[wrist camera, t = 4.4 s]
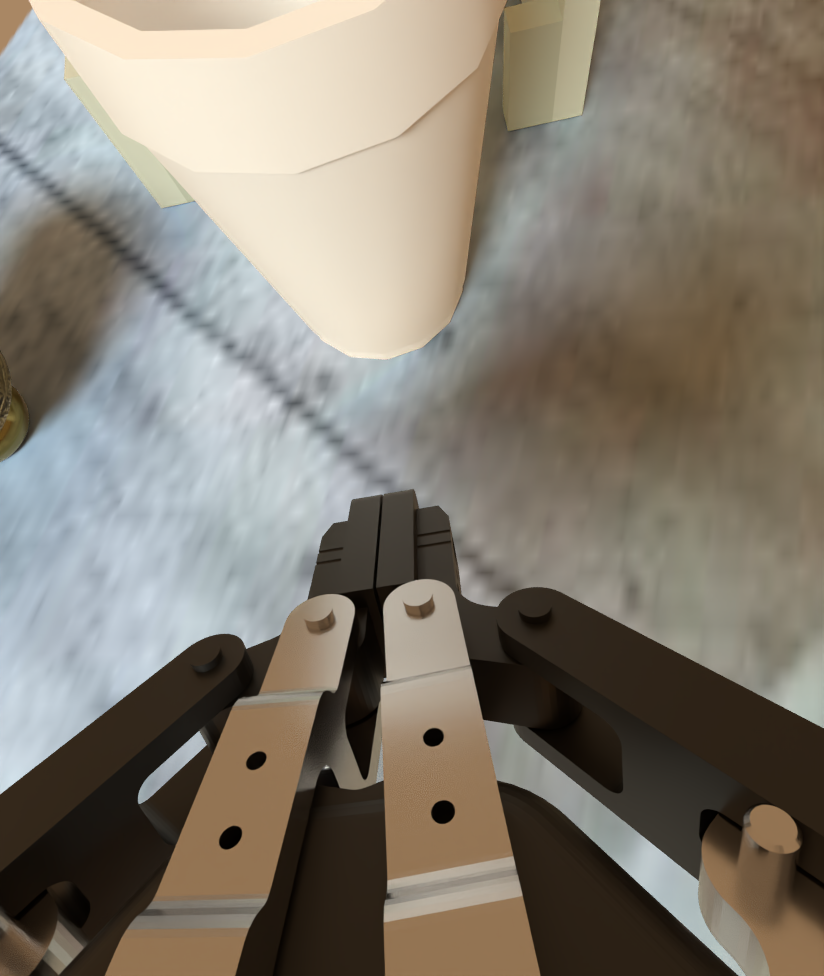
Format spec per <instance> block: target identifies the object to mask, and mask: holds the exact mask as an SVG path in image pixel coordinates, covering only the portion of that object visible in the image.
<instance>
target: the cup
mask: <svg viewBox="0 0 824 976" xmlns="http://www.w3.org/2000/svg"><path fill="white" fill-rule="evenodd" d="M28 427H29V411H28V407H27V405H26V403H25V401H24V399H23V397H22V396H21V395H20V393H19V392H18V391H17V390H16V389H15V388H14V387H13V386H12V385H11V377H10V373H9V369H8V366H7V364H6V361H5V358H4V357H3V355H2V353H1V351H0V462H1V461H3V460H5V459H6V458H8V457H9V456H10V455H12V454H13V453H14V452H15V451H16V450H17V449H18V447H19V446H20V445H21V443H22V442H23V440H24V438H25V436H26V434H27V431H28Z"/></svg>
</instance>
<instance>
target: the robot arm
mask: <svg viewBox="0 0 824 976" xmlns="http://www.w3.org/2000/svg"><path fill="white" fill-rule="evenodd" d="M316 563H317V565H316V566H315V570H314V574H313V579H312V583H311V587H310V591H309V596H308V600H307V601H305V602H303V603H302V604H300V605H299V606H297V607H296V608H295V609H294V610H293V611H292V612H291V613H290V615H289V616H288V618H287V620H286V622H285V625H284V628H283V630H282V633H281V635H279V636H277V637H275V638H273V639H271V640H268V641H265V642H263V643H260V644H258V645H255V646H253V647H250V648H248V649H246V647H245V645H244V643H243V641H242V640H241V639H240V638H239V637H237V636H235V635H231V634H218V635H213V636H210V637H207V638H204V639H202V640H200V641H198V642H196V643H195V644H193V645H191V646H190V647H189V648H187V649H186V650H185V651H183V652H182V653H181V654H180V655H178V656H177V657H176V658H174V659H173V660H172V661H171V662H169V663H168V664H167V665H165V666H164V667H163V668H162V669H160V670H159V671H158V672H156V673H155V674H154V675H153V676H151V677H150V678H149V679H148V680H146V681H145V682H144V683H142V684H141V685H140V686H139V687H137V688H136V689H135V690H133V691H132V692H131V693H130V694H128V695H127V696H126V697H124V698H123V699H122V700H121V701H119V702H118V703H117V704H116V705H114V706H113V707H112V708H110V709H109V710H108V711H107V712H105V713H104V714H103V715H101V716H100V717H99V718H98V719H96V720H95V721H94V722H92V723H91V724H90V725H89V726H87V727H86V728H85V729H84V730H82V731H81V732H80V733H78V734H77V735H76V736H75V737H73V738H72V739H71V740H69V741H68V742H67V743H66V744H64V745H63V746H62V747H60V748H59V749H58V750H57V751H55V752H54V753H53V754H51V755H50V756H49V757H48V758H46V759H45V760H44V761H43V762H41V763H40V764H39V765H37V766H36V767H35V768H34V769H32V770H31V771H30V772H28V773H27V774H26V775H25V776H23V777H22V778H21V779H19V780H18V781H17V782H16V783H14V784H13V785H12V786H11V787H9V788H8V789H7V790H5V791H4V792H3V793H2V794H0V976H738V975H737V974H736V973H735V972H734V971H733V970H732V969H730V968H729V967H728V966H727V965H726V964H725V963H724V962H723V961H722V960H721V959H720V958H719V957H717V956H716V955H715V954H714V953H713V952H712V951H711V950H710V949H709V948H708V947H707V946H706V945H705V944H703V943H702V942H701V941H700V940H699V939H698V938H697V937H696V936H695V935H694V934H693V933H692V932H690V931H689V930H688V929H687V928H686V927H685V926H684V925H683V924H682V923H681V922H680V921H679V920H677V919H676V918H675V917H674V916H673V915H672V914H671V913H670V912H669V911H668V910H667V909H666V908H665V907H663V906H662V905H661V904H660V903H659V902H658V901H657V900H656V899H655V898H654V897H653V896H652V895H650V894H649V893H648V892H647V891H646V890H645V889H644V888H643V887H642V886H641V885H640V884H639V883H638V882H636V881H635V880H634V879H633V878H632V877H631V876H630V875H629V874H628V873H627V872H626V871H625V870H624V869H622V868H621V867H620V866H619V865H618V864H617V863H616V862H615V861H614V860H613V859H612V858H611V857H610V856H608V855H607V854H606V853H605V852H604V851H603V850H602V849H601V848H600V847H599V846H598V845H597V844H596V843H594V842H593V841H592V840H591V839H590V838H589V837H588V836H587V835H586V834H585V833H584V832H583V831H582V830H580V829H579V828H578V827H577V826H576V825H575V824H574V823H573V822H572V821H571V820H570V819H569V818H568V817H566V816H565V815H564V814H563V813H562V812H561V811H560V810H558V809H557V808H556V807H554V806H553V805H552V804H550V803H549V802H547V801H546V800H544V799H543V798H541V797H539V796H537V795H536V794H534V793H532V792H530V791H528V790H525V789H523V788H520V787H518V786H515V785H512V784H509V783H505V782H501V781H496V776H495V772H494V767H493V763H492V758H491V754H490V749H489V745H488V740H487V736H486V731H485V727H484V722H483V720H488V721H495V722H501V723H507V724H513V725H514V728H515V730H516V732H517V734H518V735H519V736H520V738H522V739H523V740H524V741H525V742H526V743H527V744H528V745H530V746H531V747H532V748H533V749H535V750H536V751H537V752H538V753H540V754H541V755H542V756H543V757H545V758H546V759H547V760H548V761H550V762H551V763H552V764H553V765H555V766H556V767H557V768H558V769H560V770H561V771H562V772H563V773H565V774H566V775H567V776H568V777H570V778H571V779H572V780H573V781H575V782H576V783H577V784H578V785H580V786H581V787H582V788H583V789H585V790H586V791H587V792H588V793H590V794H591V795H592V796H593V797H595V798H596V799H597V800H598V801H600V802H601V803H602V804H603V805H605V806H606V807H607V808H608V809H610V810H611V811H612V812H613V813H615V814H616V815H617V816H618V817H620V818H621V819H622V820H623V821H625V822H626V823H627V824H628V825H630V826H631V827H632V828H633V829H635V830H636V831H637V832H638V833H640V834H641V835H642V836H643V837H645V838H646V839H647V840H648V841H650V842H651V843H652V844H653V845H655V846H656V847H657V848H658V849H660V850H661V851H662V852H663V853H665V854H666V855H667V856H668V857H670V858H671V859H672V860H673V861H675V862H676V863H677V864H678V865H680V866H681V867H682V868H683V869H685V870H686V871H687V872H688V873H690V874H691V875H692V876H693V877H695V878H696V879H697V880H698V881H699V887H698V899H699V906H700V910H701V913H702V916H703V918H704V921H705V923H706V925H707V927H708V928H709V930H710V932H711V933H712V935H713V936H714V937H715V939H716V940H717V941H718V943H719V944H720V945H721V946H722V947H723V948H724V949H725V950H726V951H727V952H728V953H729V954H730V955H731V957H732V958H733V959H734V960H735V961H736V962H737V964H738V965H739V966H740V968H741V969H742V970H743V972H744V973H745V975H746V976H824V728H822V727H820V726H818V725H816V724H814V723H812V722H810V721H808V720H806V719H804V718H802V717H801V716H799V715H797V714H795V713H793V712H791V711H789V710H787V709H785V708H783V707H781V706H779V705H777V704H775V703H773V702H772V701H770V700H768V699H766V698H764V697H762V696H760V695H758V694H756V693H754V692H752V691H750V690H748V689H746V688H744V687H743V686H741V685H739V684H737V683H735V682H733V681H731V680H729V679H727V678H725V677H723V676H721V675H719V674H717V673H715V672H714V671H712V670H710V669H708V668H706V667H704V666H702V665H700V664H698V663H696V662H694V661H692V660H690V659H688V658H686V657H685V656H683V655H681V654H679V653H677V652H675V651H673V650H671V649H669V648H667V647H665V646H663V645H661V644H659V643H657V642H656V641H654V640H652V639H650V638H648V637H646V636H644V635H642V634H640V633H638V632H636V631H634V630H632V629H630V628H628V627H627V626H625V625H623V624H621V623H619V622H617V621H615V620H613V619H611V618H609V617H607V616H605V615H603V614H601V613H599V612H598V611H596V610H594V609H592V608H590V607H588V606H586V605H584V604H582V603H580V602H578V601H576V600H574V599H572V598H571V597H569V596H567V595H565V594H563V593H561V592H558V591H556V590H553V589H549V588H542V587H533V588H526V589H522V590H518V591H516V592H514V593H511V594H510V595H508V596H507V597H506V598H504V599H503V600H502V601H501V603H500V604H499V606H498V607H492V606H484V605H479V604H476V603H473V602H471V601H469V600H467V599H466V598H465V597H463V596H462V595H461V585H460V577H459V569H458V563H457V558H456V553H455V547H454V542H453V537H452V532H451V527H450V522H449V516H448V515H447V514H446V513H445V512H444V511H443V510H442V509H441V508H440V507H439V506H433V507H427V508H421V509H419V506H418V502H417V498H416V494H415V491H414V489H411V490H405V491H399V492H394V493H388V494H384V495H377V496H371V497H365V498H359V499H353V500H352V501H351V506H350V512H349V518H348V521H345V522H339V523H333V525H332V526H331V527H330V528H329V530H328V531H327V532H326V533H325V534H324V536H323V537H322V540H321V544H320V549H319V554H318V557H317V562H316ZM384 678H387V681H386V682H383V680H384ZM198 731H200V733H201V735H202V737H203V738H204V740H205V742H206V744H207V745H206V746H205V747H204V748H203V749H202V750H201V751H200V752H199V753H198V754H197V755H196V756H195V757H194V758H192V759H191V760H190V761H189V762H188V763H187V764H186V765H185V766H184V767H183V768H182V769H181V770H179V771H178V772H177V773H176V774H175V775H174V776H173V777H172V778H171V779H170V780H169V781H168V782H167V783H165V784H164V785H163V786H162V787H161V788H160V789H159V790H158V791H157V792H156V793H155V794H154V795H153V796H151V797H150V798H149V799H148V800H146V801H145V802H143V803H141V804H138V793H139V790H140V788H141V786H142V784H143V783H144V781H145V780H146V779H147V777H148V776H149V775H150V774H151V773H153V772H154V771H155V770H156V769H157V768H158V767H159V766H160V765H161V764H163V763H164V762H165V761H166V760H167V759H168V758H169V757H170V756H171V755H173V754H174V753H175V752H176V751H177V750H178V749H179V748H180V747H181V746H183V745H184V744H185V743H186V742H187V741H188V740H189V739H190V738H191V737H193V736H194V735H195V734H196V733H197V732H198ZM381 742H382V745H383V771H384V781H381V782H378V783H376V779H377V772H378V764H379V757H380V749H381Z"/></svg>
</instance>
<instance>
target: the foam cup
mask: <svg viewBox="0 0 824 976" xmlns="http://www.w3.org/2000/svg"><path fill="white" fill-rule="evenodd" d="M29 1H30V3H31V5H32V7H33V9H34V11H35V13H36V15H37V17H38V19H39V20H40V22H41V23H42V24H43V26H44V27H45V28H46V30H47V31H48V33H49V34H50V35H51V37H52V38H53V39H54V41H55V42H56V44H57V45H58V46H59V48H60V49H61V51H62V52H63V53H64V55H65V56H66V57H67V59H68V60H69V62H70V63H71V64H72V66H73V67H74V68H75V70H76V71H77V73H78V74H79V75H80V77H81V78H82V79H83V81H84V82H85V84H86V85H87V86H88V88H89V89H90V91H91V92H92V93H93V95H94V96H95V97H96V99H97V100H98V102H99V103H100V104H101V106H102V107H103V108H104V110H105V111H106V113H107V114H108V115H109V117H110V118H111V120H112V121H113V122H114V124H115V125H116V126H117V128H118V129H119V131H120V132H121V133H122V134H123V135H125V136H127V137H129V138H131V139H133V140H135V141H137V142H138V143H140V144H142V145H144V146H146V147H147V148H148V149H149V150H150V152H151V153H152V154H153V155H154V156H155V157H156V158H157V159H158V160H159V162H160V163H161V164H162V165H163V166H164V167H165V168H166V169H167V170H168V171H169V173H170V174H171V175H172V176H173V177H174V178H175V179H176V180H177V181H178V183H179V184H180V185H181V186H182V187H183V188H184V189H185V190H186V191H187V193H188V194H189V195H190V196H191V197H192V198H193V199H194V200H195V201H196V202H197V204H198V205H199V206H200V207H201V208H202V209H203V210H204V211H205V212H206V214H207V215H208V216H209V217H210V218H211V219H212V220H213V221H214V222H215V224H216V225H217V226H218V227H219V228H220V229H221V230H222V231H223V232H224V233H225V235H226V236H227V237H228V238H229V239H230V240H231V241H232V242H233V243H234V245H235V246H236V247H237V248H238V249H239V250H240V251H241V252H242V253H243V255H244V256H245V257H246V258H247V259H248V260H249V261H250V262H251V263H252V264H253V266H254V267H255V268H256V269H257V270H258V271H259V272H260V273H261V274H262V276H263V277H264V278H265V279H266V280H267V281H268V282H269V283H270V284H271V286H272V287H273V288H274V289H275V290H276V291H277V292H278V293H279V294H280V295H281V297H282V298H283V299H284V300H285V301H286V302H287V303H288V304H289V305H290V307H291V308H292V309H293V310H294V311H295V312H296V313H297V314H298V315H299V317H300V318H301V319H302V320H303V321H304V322H305V323H306V324H307V325H308V326H309V328H310V329H311V330H312V331H313V332H314V333H315V334H317V335H318V336H319V337H320V339H321V340H322V341H324V342H325V343H327V344H329V345H331V346H332V347H334V348H336V349H337V350H339V351H341V352H343V353H344V354H346V355H348V356H350V357H356V358H369V359H383V360H388V359H391V358H393V357H396V356H399V355H402V354H405V353H408V352H411V351H414V350H417V349H419V348H422V347H424V346H425V345H426V344H427V343H428V342H429V341H430V340H431V339H432V338H433V337H435V336H436V335H437V334H438V333H439V332H440V331H441V330H442V329H443V328H444V327H446V326H447V325H448V324H449V323H450V321H451V318H452V316H453V314H454V311H455V309H456V306H457V304H458V301H459V299H460V296H461V294H462V292H463V287H462V286H463V283H464V281H465V274H466V266H467V258H468V251H469V243H470V236H471V228H472V220H473V213H474V205H475V198H476V190H477V182H478V175H479V167H480V160H481V152H482V145H483V137H484V129H485V122H486V114H487V107H488V99H489V91H490V84H491V76H492V69H493V61H494V53H495V46H496V38H497V31H498V23H499V18H500V16H501V14H502V11H503V9H504V7H505V5H506V2H507V0H29Z"/></svg>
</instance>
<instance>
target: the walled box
mask: <svg viewBox="0 0 824 976" xmlns="http://www.w3.org/2000/svg"><path fill="white" fill-rule="evenodd" d="M521 2H522V4H518V5H514V6H510V7H506V8H504V50H503V113H504V117H505V121H506V126H507V130H508V131H512V130H517V129H521V128H526V127H530V126H535V125H539V124H544V123H548V122H553V121H557V120H562V119H566V118H571V117H575V116H580V115H582V112H583V106H584V100H585V93H586V87H587V81H588V75H589V69H590V63H591V57H592V51H593V44H594V38H595V32H596V26H597V20H598V14H599V8H600V2H601V0H521ZM64 80H65V81H66V83H67V84H68V85H69V86H70V88H71V89H72V90H73V92H74V93H75V94H76V96H77V97H78V98H79V100H80V101H81V102H82V104H83V105H84V106H85V108H86V109H87V110H88V112H89V113H90V114H91V116H92V117H93V118H94V120H95V121H96V122H97V123H98V125H99V126H100V127H101V129H102V130H103V131H104V133H105V134H106V135H107V137H108V138H109V139H110V141H111V142H112V143H113V145H114V146H115V147H116V149H117V150H118V151H119V153H120V154H121V155H122V157H123V158H124V159H125V160H126V162H127V163H128V164H129V166H130V167H131V168H132V170H133V171H134V172H135V174H136V175H137V176H138V178H139V179H140V180H141V182H142V183H143V184H144V186H145V187H146V188H147V190H148V191H149V192H150V194H151V195H152V196H153V198H154V199H155V200H156V201H157V203H158V204H159V205H160V207H161V208H165V207H170V206H174V205H179V204H183V203H188V202H192V201H195V200H194V199H193V198H192V197H191V196H190V195H189V194H188V193H187V191H186V190H185V189H184V188H183V187H182V186H181V185H180V184H179V183H178V181H177V180H176V179H175V178H174V177H173V176H172V175H171V174H170V173H169V171H168V170H167V169H166V168H165V167H164V166H163V165H162V164H161V163H160V162H159V160H158V159H157V158H156V157H155V156H154V155H153V154H152V153H151V152H150V150H149V149H148V148H147V147H146V146H144V145H142V144H140V143H138V142H137V141H135V140H133V139H131V138H129V137H127V136H125V135H123V134H122V133H121V132H120V131H119V129H118V128H117V126H116V125H115V124H114V122H113V121H112V120H111V118H110V117H109V115H108V114H107V113H106V111H105V110H104V108H103V107H102V106H101V104H100V103H99V102H98V100H97V99H96V97H95V96H94V95H93V93H92V92H91V91H90V89H89V88H88V86H87V85H86V84H85V82H84V81H83V79H82V78H81V77H80V75H79V74H78V73H77V71H76V70H75V68H74V67H73V66H72V64H71V63H70V62H69V60H68V59H67V57H66V56H65V74H64Z"/></svg>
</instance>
